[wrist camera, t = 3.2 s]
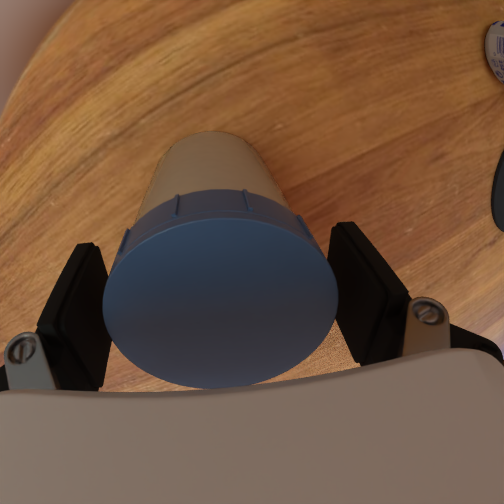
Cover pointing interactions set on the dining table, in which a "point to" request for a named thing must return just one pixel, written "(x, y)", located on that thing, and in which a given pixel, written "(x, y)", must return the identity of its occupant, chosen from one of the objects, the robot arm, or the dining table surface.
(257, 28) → the dining table surface
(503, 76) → the beverage can
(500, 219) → the coaster
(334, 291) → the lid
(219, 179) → the jar
